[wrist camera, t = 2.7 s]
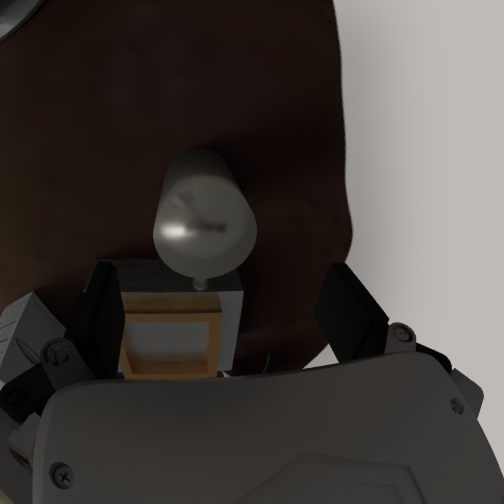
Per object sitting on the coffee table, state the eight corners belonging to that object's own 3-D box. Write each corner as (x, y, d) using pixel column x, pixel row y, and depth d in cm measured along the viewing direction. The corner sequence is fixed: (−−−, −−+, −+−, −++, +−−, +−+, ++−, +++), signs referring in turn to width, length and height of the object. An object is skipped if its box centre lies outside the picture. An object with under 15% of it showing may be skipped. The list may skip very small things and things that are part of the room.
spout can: (166, 146, 21) (152, 185, 12) (233, 149, 22) (264, 189, 14) (164, 229, 24) (158, 304, 16) (224, 229, 26) (245, 303, 18)
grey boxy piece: (95, 258, 24) (78, 303, 19) (237, 258, 28) (252, 302, 23) (115, 339, 30) (110, 382, 25) (227, 337, 34) (237, 380, 29)
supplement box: (70, 330, 28) (51, 418, 18) (38, 342, 28) (17, 419, 18) (34, 288, 24) (-4, 377, 14) (4, 304, 24) (-29, 383, 13)
